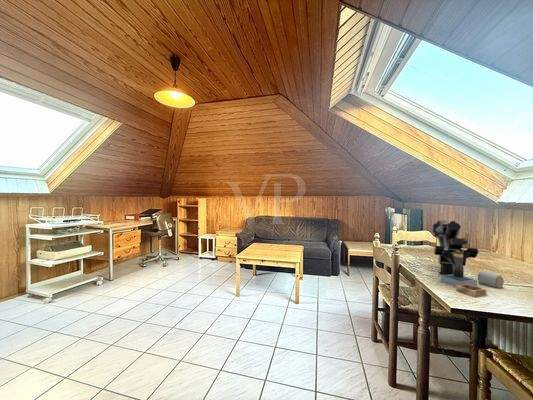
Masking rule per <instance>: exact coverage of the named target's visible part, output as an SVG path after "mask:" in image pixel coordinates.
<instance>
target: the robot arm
mask: <svg viewBox="0 0 533 400" xmlns="http://www.w3.org/2000/svg"><path fill="white" fill-rule="evenodd" d="M431 231H432V234H433V236H434V237H436V238H437V240H438V243H439V245H434V248H433V255H435V256H438V258H437V259H438V260H437V262H438V264H439V265H440V271H439V272H438V273H439V274H441V275H451V274H453V265H454V261H453V251H460V252H463V267H464V266H466V262H467V259H469V258H474V259H475V258H476V257H478V254H479V249H478V248H476V247H467V248H466V249H463V246H464V245H467V244H468V240H467V238H466V237H461V238H458V235H459V233H460V231H461V225H460V224H459V223H457V222H456V221H455V220H450V222H447V220H442V219H441V220H439V219H438V220H436V222H435V223H434V224H433V225H432V227H431Z"/></svg>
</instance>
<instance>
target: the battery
mask: <svg viewBox="0 0 533 400" xmlns="http://www.w3.org/2000/svg"><path fill="white" fill-rule="evenodd" d="M453 261H454V265H453V276H454V277H458V278H463V277H465V275H464V274H465V273H464V268H465V267H464V265H463V252H460V251H453Z"/></svg>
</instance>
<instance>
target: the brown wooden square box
mask: <svg viewBox="0 0 533 400" xmlns="http://www.w3.org/2000/svg"><path fill="white" fill-rule="evenodd" d="M454 291H455V292H458V293H461V294H464V295H467V296H469V297H472V298H480V297H481V298H482V297H486V296H488V294H487V289H486V288H482V287H480V286H478V285H477V286H473V285H470V284H462V285H456V286H455V289H454Z"/></svg>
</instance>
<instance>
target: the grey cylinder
mask: <svg viewBox="0 0 533 400" xmlns="http://www.w3.org/2000/svg"><path fill="white" fill-rule="evenodd" d="M477 284H481V285H483V286H487V287H493V288H497V289H502V287H503V285H504V277H503V276H502V275H499V274H497V273H493V272H490V271H486V270H481V271H479V272H478V273H477Z"/></svg>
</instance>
